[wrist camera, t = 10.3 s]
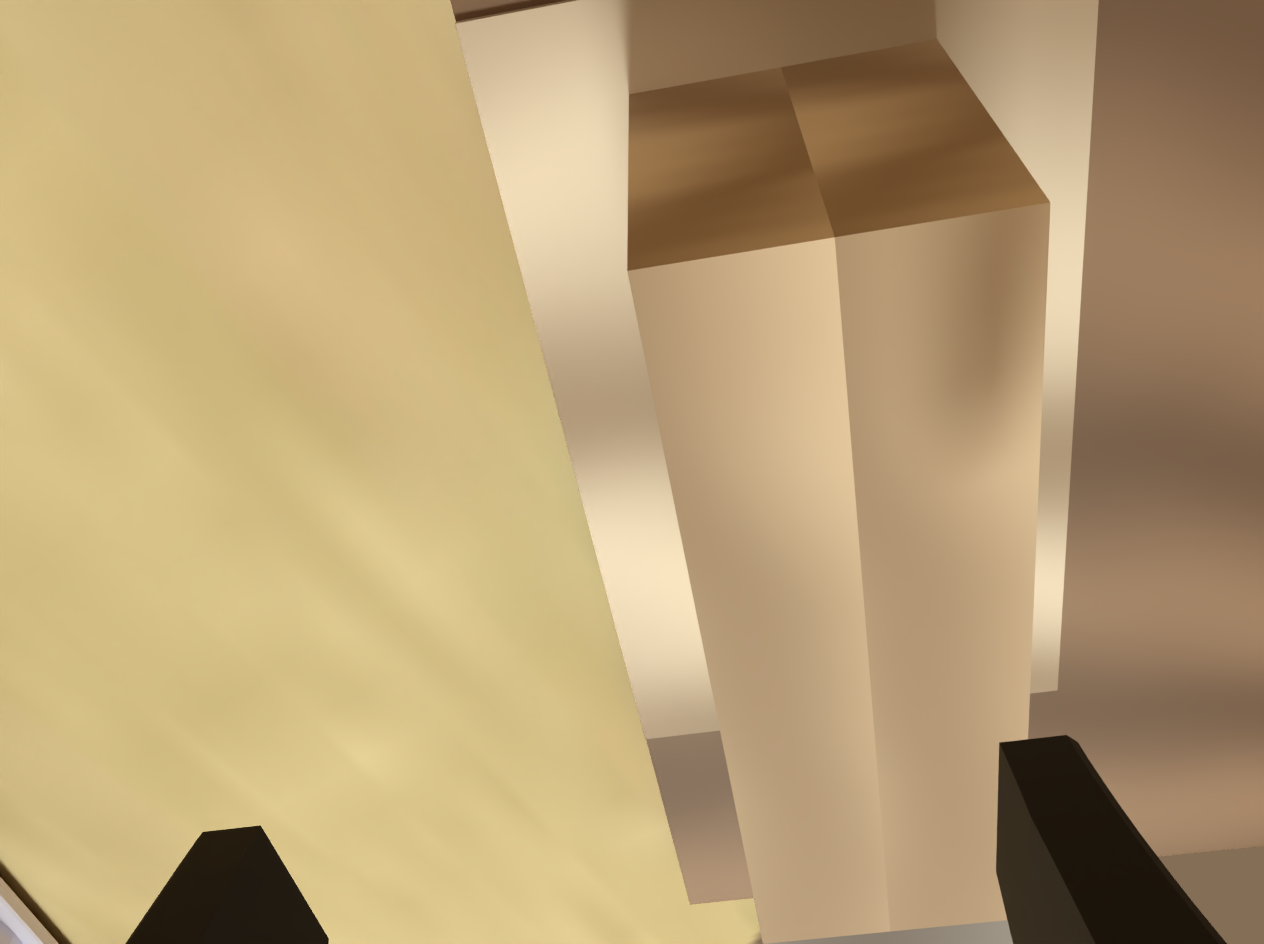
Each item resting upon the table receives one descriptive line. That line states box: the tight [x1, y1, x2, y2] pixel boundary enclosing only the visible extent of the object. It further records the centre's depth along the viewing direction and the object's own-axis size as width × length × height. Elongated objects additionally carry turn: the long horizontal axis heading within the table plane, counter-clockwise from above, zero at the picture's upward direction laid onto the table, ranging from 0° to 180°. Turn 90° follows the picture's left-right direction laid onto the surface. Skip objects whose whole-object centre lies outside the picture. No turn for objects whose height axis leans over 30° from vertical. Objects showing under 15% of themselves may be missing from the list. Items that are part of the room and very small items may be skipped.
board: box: [450, 0, 1264, 905], centre depth 19 cm, size 22×16×1 cm
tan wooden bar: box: [627, 39, 1051, 944], centre depth 17 cm, size 4×14×5 cm, turn 10°
